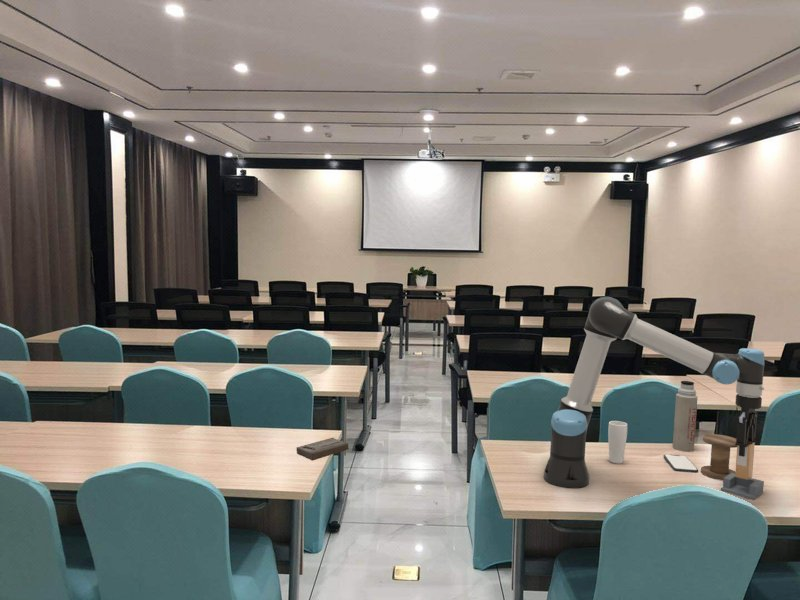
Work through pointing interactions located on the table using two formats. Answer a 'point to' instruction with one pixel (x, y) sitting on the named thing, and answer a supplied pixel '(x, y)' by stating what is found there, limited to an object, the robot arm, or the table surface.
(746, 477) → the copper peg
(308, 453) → the box
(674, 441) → the thermos bottle
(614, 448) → the drinking glass
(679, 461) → the smartphone
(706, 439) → the bobbin
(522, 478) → the table surface
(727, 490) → the grey slotted holder
